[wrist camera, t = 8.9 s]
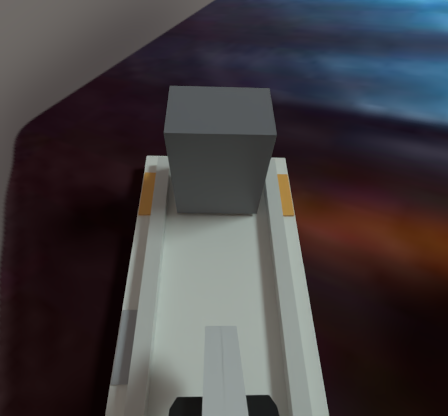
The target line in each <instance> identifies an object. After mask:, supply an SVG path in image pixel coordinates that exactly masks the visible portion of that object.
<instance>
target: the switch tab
mask: <svg viewBox="0 0 448 416" xmlns="http://www.w3.org/2000/svg"><path fill="white" fill-rule="evenodd" d="M276 136H277V133H276V127H275V121H274V114H273V108H272V102H271V96H270V89H269V88H235V87H196V86H170V88H169V96H168V104H167V112H166V120H165V128H164V137H165V143H166V149H167V155H168V161H169V167H170V173H171V179H172V185H173V191H174V197H175V203H176V209H177V213H218V214H257V211H258V207H259V203H260V199H261V195H262V191H263V187H264V183H265V180H266V176H267V172H268V168H269V164H270V160H271V156H272V152H273V148H274V144H275V140H276Z"/></svg>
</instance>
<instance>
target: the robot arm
mask: <svg viewBox="0 0 448 416" xmlns="http://www.w3.org/2000/svg"><path fill="white" fill-rule="evenodd" d="M168 416H279V412H278V408H277V405H276V404H275V403H274V401H273V400H272V398H271V397H270V396H269V395H246V393H245V385H244V378H243V370H242V363H241V356H240V348H239V341H238V333H237V326H205V346H204V373H203V397H177V398H176V399H175V401H174V402H173V404H172V406H171V407H170V409H169V415H168Z"/></svg>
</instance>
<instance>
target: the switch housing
mask: <svg viewBox="0 0 448 416" xmlns="http://www.w3.org/2000/svg"><path fill="white" fill-rule="evenodd" d="M205 326H237V333H238V341H239V348H240V356H241V363H242V370H243V378H244V385H245V393H246V395H269V396H270V397H271V398H272V400H273V401H274V403H275V404H276V405H277V408H278V412H279V416H329V412H328V406H327V401H326V395H325V389H324V383H323V377H322V371H321V366H320V360H319V354H318V348H317V342H316V336H315V330H314V325H313V319H312V313H311V307H310V301H309V295H308V289H307V284H306V278H305V272H304V266H303V260H302V254H301V249H300V243H299V237H298V231H297V225H296V219H295V213H294V208H293V202H292V196H291V190H290V184H289V178H288V172H287V167H286V161H285V158H271V160H270V164H269V168H268V172H267V176H266V180H265V183H264V187H263V191H262V195H261V199H260V203H259V207H258V211H257V214H218V213H177V209H176V203H175V197H174V191H173V185H172V179H171V173H170V167H169V161H168V156H147V159H146V165H145V171H144V177H143V183H142V190H141V196H140V202H139V208H138V214H137V221H136V227H135V233H134V239H133V246H132V252H131V258H130V264H129V270H128V277H127V283H126V289H125V295H124V301H123V308H122V314H121V320H120V326H119V332H118V339H117V345H116V351H115V357H114V363H113V370H112V376H111V382H110V388H109V394H108V401H107V407H106V413H105V416H168V415H169V409H170V407H171V406H172V404H173V402H174V401H175V399H176V398H177V397H203V373H204V346H205Z"/></svg>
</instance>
